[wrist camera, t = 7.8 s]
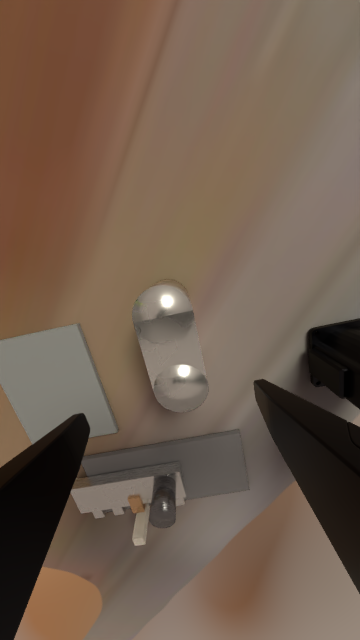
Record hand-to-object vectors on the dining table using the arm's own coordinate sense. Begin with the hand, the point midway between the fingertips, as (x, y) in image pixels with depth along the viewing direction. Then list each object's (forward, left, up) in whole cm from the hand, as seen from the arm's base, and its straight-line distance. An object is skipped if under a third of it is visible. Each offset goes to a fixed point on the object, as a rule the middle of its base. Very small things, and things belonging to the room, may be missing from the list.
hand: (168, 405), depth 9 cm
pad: (+14, +4, -11) cm, 18 cm away
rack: (+10, +19, -10) cm, 23 cm away
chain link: (0, 0, -11) cm, 11 cm away
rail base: (+5, +18, -11) cm, 22 cm away
